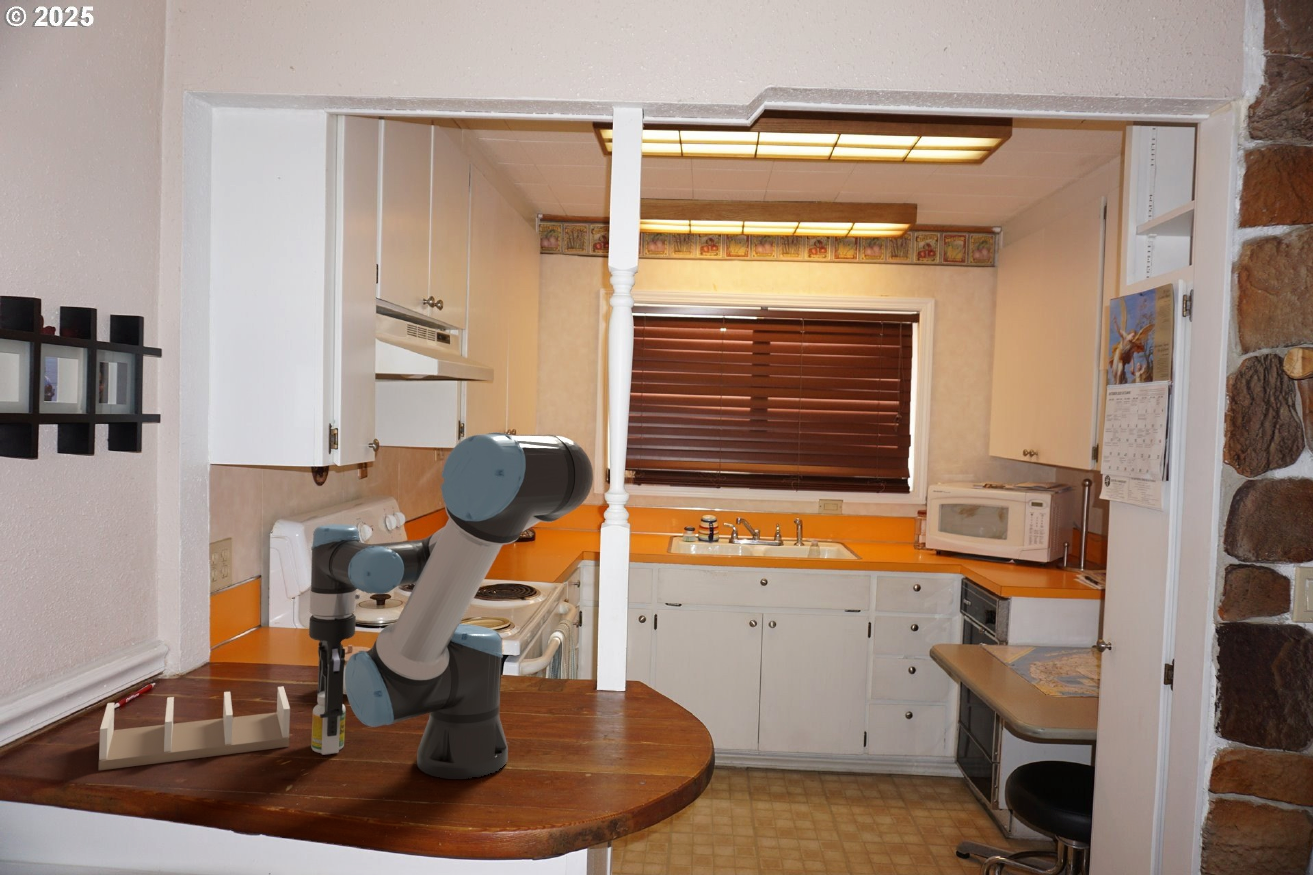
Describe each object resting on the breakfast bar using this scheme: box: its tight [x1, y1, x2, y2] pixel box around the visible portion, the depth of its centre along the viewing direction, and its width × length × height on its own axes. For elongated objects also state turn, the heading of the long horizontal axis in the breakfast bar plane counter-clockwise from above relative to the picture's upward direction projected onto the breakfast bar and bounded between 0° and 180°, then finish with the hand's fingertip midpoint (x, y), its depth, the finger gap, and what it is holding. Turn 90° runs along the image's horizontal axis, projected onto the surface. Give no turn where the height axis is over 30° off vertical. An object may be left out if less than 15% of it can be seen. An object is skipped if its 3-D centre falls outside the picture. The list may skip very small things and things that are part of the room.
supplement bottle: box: [311, 691, 346, 754], centre depth 151 cm, size 5×5×10 cm
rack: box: [98, 686, 291, 771], centre depth 150 cm, size 14×28×6 cm, turn 118°
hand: (327, 746), depth 151 cm, fingers closed on supplement bottle, 5 cm apart
